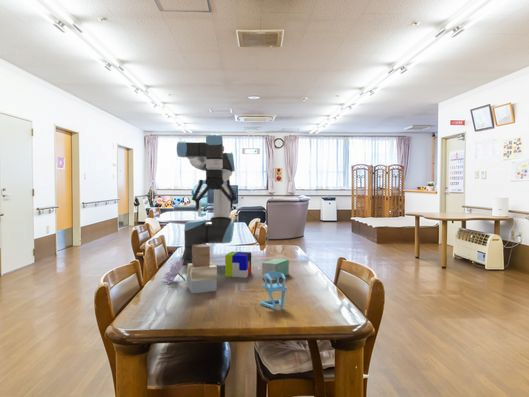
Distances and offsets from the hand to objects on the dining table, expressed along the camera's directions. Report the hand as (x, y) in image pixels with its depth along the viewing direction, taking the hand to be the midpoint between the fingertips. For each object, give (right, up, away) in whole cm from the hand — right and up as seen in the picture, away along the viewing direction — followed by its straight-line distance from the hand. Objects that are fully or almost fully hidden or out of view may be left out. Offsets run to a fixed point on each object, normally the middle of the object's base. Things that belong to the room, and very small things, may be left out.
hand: (214, 215), depth 172 cm
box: (+28, -29, +4) cm, 40 cm away
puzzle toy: (+11, -29, +8) cm, 31 cm away
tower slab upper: (-3, -24, -17) cm, 30 cm away
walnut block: (-3, -19, -17) cm, 26 cm away
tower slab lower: (-3, -29, -17) cm, 34 cm away
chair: (+26, -30, -39) cm, 56 cm away
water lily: (-18, -29, -5) cm, 34 cm away
